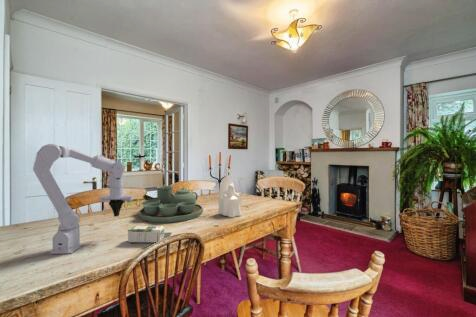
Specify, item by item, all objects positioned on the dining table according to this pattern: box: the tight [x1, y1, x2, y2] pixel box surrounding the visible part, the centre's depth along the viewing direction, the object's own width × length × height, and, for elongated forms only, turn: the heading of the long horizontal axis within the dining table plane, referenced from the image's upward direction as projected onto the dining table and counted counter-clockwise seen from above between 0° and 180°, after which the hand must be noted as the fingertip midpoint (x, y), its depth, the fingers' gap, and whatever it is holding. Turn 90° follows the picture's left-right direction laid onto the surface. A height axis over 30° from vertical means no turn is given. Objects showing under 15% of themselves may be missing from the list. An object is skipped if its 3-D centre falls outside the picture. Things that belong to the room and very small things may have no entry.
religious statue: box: [217, 167, 251, 218], centre depth 150 cm, size 17×14×30 cm
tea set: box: [138, 185, 204, 224], centre depth 151 cm, size 40×40×16 cm
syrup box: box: [127, 225, 165, 243], centre depth 105 cm, size 6×6×14 cm
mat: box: [130, 232, 172, 245], centre depth 109 cm, size 12×15×1 cm
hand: (116, 215), depth 110 cm, fingers closed
